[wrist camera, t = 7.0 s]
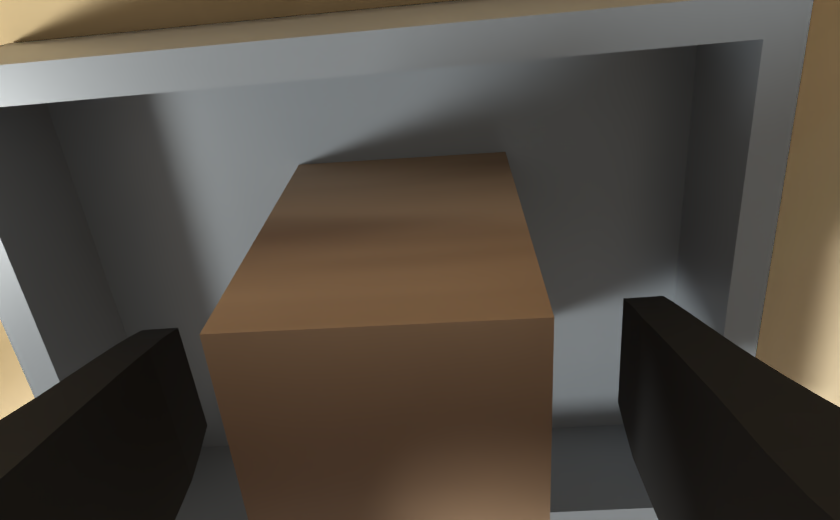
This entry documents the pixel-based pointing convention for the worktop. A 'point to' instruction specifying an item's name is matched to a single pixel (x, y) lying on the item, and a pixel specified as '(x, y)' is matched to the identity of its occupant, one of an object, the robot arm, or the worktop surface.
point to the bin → (392, 139)
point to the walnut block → (389, 348)
